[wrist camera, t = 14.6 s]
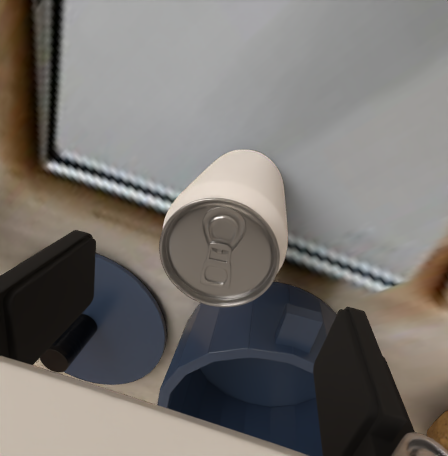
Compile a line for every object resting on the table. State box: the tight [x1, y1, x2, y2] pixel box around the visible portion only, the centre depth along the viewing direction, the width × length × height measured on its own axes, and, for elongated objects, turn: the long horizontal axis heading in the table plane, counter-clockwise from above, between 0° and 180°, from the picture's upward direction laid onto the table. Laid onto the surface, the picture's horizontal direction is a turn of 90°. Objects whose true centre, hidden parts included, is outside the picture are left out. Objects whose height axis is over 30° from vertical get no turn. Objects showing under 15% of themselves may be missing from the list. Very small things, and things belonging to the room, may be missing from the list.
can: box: [159, 150, 288, 307], centre depth 19 cm, size 6×6×12 cm
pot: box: [157, 282, 337, 456], centre depth 27 cm, size 17×22×8 cm
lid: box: [40, 253, 166, 385], centre depth 30 cm, size 18×18×6 cm
